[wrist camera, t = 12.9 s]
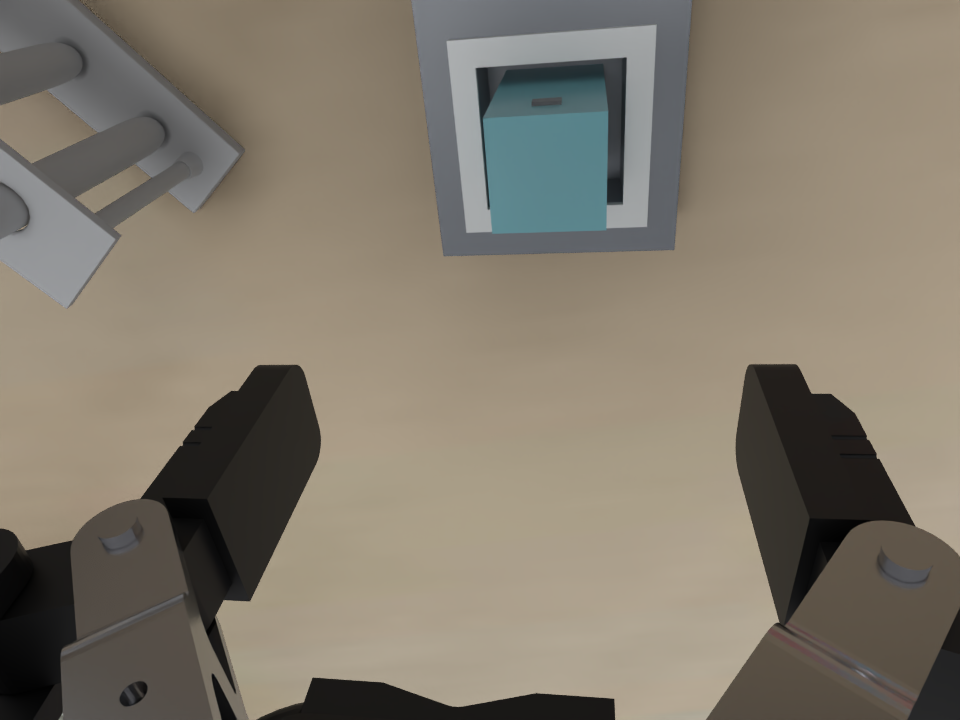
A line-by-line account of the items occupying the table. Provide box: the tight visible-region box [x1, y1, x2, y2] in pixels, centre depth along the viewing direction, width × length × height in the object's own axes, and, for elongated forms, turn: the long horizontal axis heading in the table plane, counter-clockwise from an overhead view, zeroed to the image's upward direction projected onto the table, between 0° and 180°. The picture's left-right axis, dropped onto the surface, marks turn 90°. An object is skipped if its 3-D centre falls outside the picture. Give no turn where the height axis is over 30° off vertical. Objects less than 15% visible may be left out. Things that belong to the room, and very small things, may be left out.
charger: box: [483, 64, 608, 234], centre depth 26 cm, size 4×4×8 cm
